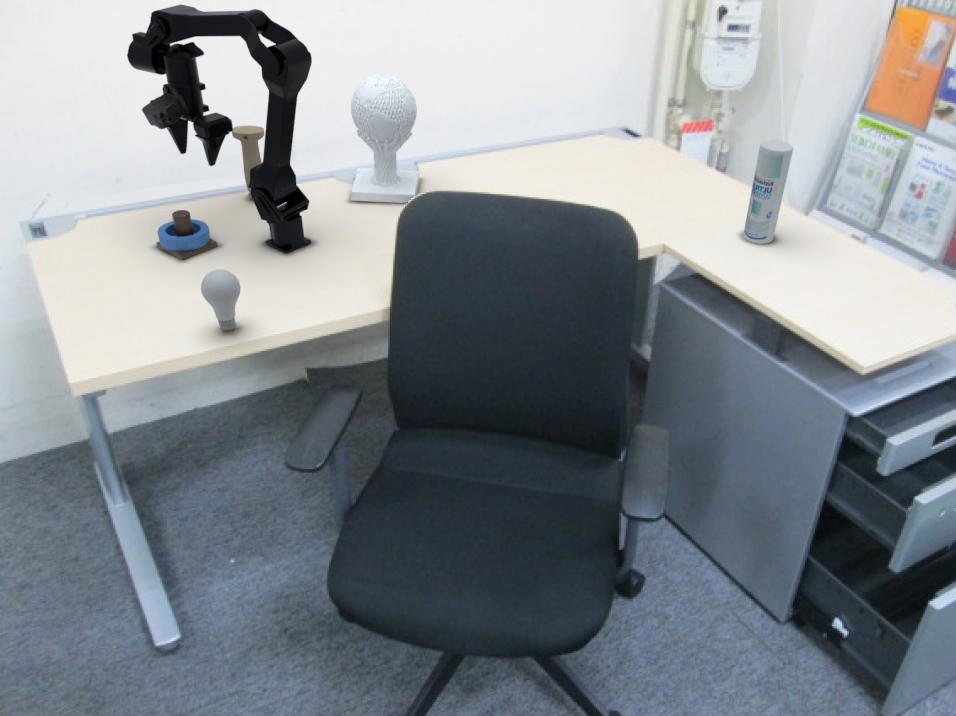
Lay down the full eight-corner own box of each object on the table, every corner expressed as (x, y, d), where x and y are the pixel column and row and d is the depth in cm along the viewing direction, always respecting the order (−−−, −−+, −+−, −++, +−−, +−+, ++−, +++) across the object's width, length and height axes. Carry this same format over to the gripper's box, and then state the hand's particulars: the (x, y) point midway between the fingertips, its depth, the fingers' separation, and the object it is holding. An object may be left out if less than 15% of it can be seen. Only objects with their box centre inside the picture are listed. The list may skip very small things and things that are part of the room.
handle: (270, 202, 196) (260, 134, 187) (239, 201, 195) (229, 133, 187) (274, 194, 200) (266, 126, 191) (245, 193, 199) (234, 125, 191)
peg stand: (217, 246, 178) (211, 213, 174) (182, 260, 173) (175, 226, 169) (192, 234, 182) (186, 201, 178) (157, 247, 177) (149, 213, 173)
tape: (220, 239, 179) (218, 227, 177) (181, 255, 172) (179, 244, 171) (188, 226, 183) (186, 215, 181) (150, 242, 176) (147, 230, 175)
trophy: (420, 179, 210) (418, 68, 196) (416, 203, 199) (413, 88, 184) (358, 176, 209) (351, 65, 195) (351, 201, 198) (343, 85, 183)
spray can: (779, 238, 193) (799, 146, 182) (763, 247, 189) (782, 153, 178) (753, 228, 197) (771, 137, 185) (736, 236, 193) (754, 144, 181)
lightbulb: (213, 320, 156) (202, 262, 149) (250, 320, 156) (240, 262, 150) (205, 339, 151) (194, 280, 144) (243, 339, 151) (233, 280, 145)
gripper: (115, 76, 170) (133, 158, 179) (175, 99, 161) (191, 183, 170) (167, 65, 177) (182, 143, 186) (228, 86, 168) (240, 167, 177)
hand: (197, 159), depth 180 cm, fingers open, 9 cm apart
